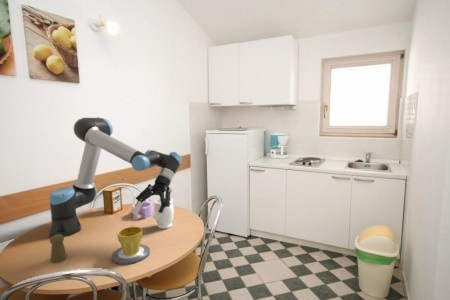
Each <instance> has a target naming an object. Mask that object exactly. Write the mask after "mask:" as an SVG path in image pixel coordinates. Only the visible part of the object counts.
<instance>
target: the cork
mask: <svg viewBox="0 0 450 300" xmlns="http://www.w3.org/2000/svg"><path fill="white" fill-rule="evenodd" d="M64 240H65V236H63V235H61V234H57V235H54V236H52V237H51V236H50V238H49V243H50V244H51V250H50V251H51V253H50V263H52V264H57V263H62V262H64V261H66V260H67V258H68V256H67V253H66V250H65V244H64Z"/></svg>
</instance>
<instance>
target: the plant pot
mask: <svg viewBox="0 0 450 300" xmlns="http://www.w3.org/2000/svg"><path fill="white" fill-rule="evenodd" d="M143 233H144V232H143V228H141V227H140V226H129V227H125V228H122V229H120V230H118V232H117V240H118V243H120V246H121V247H122V250H123V253H124V254H125V255H134V254H136V253H138V252H139V248H140V244H141V241H142V238H143ZM121 247H120V248H121Z"/></svg>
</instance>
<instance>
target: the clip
mask: <svg viewBox="0 0 450 300" xmlns="http://www.w3.org/2000/svg"><path fill="white" fill-rule="evenodd" d="M148 199H149V201H147V199H146V200H145V201H143V202H142V203H143V204H142V206H141V208H140V210H139V211H138V213H137V215H134V214H133V213H132V212H133V210H134V208H135V205H136V203H133V204H132V205H131V208H132V209H131V210H132V212H131V213H132V218H133V219H132V220H137V219H138V218H139V214H141V213H142V219H143V220H147V218H150V217H153V216H154V199H153V198H148Z"/></svg>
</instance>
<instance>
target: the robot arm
mask: <svg viewBox="0 0 450 300" xmlns="http://www.w3.org/2000/svg"><path fill="white" fill-rule="evenodd" d="M73 133H74V135H75V136H76V138H77V139H79V140H81V141H82V142H84V143H85V144H84V149H83V152H82V157H81V160H80V165H79V170H78V175H77V178H76V180H74V181H73V184H72V187H62V188H58V189H55V190H53V191H52V192H51V193H50V194H49V200H48V201H49V207H50V216H51V218H50V219H51V222H50V225H49V229H48V236H49V237H50V238H51V237H52V236H54V235H57V234H61V235H63V236H64V237H69V236H71V235H74V234H77V233H78V232H80V231H81V230H82V226H81V222H80V220H79V218H78V216H77V209H78V208H81V207H83V206H86V205H89V204H91V203H93V202H94V201H95V200H96V198H97V196H98V189H97V187H96V183H94V180H95V177H96V173H97V172H96V171H97V167H98V163H99V160H100V155H101V152H102V150H104V151H106V152H108V153H110V154H112V155H113V156H115V157H118V158H119V159H120V160H122V161H124V162H126V163H129V164H130V165H131V166H132V167H131V168H133V169H134V171H137V172H141V171H146V170H149V169H152V168H153V167H159V168H161V169H160V171H159V173H158V175H157V176H156V178H155V180H154V184H153V185H152V184H150V183H149V184H148V185H147V187H146V188H144V189H143V191H141V192H140V193H139V194H138V195H136V197H135V200H136V201H137V202H136V203H135V204H136V205H135V208H134V210H133V212H131V213H132V215H133V214H134V215H137V213H138V211H139V210H140V208H141V206H142V204H143V203H142V202H143V201H145V200H146V201H147V200H148V199H150V198H151V197H152V196H153V197H154V196H158V197H159V199H160V200H161V205H159V207H158V209H157V210H156V212H155V211H154V213H153V215H152V218H153V219H154V220H158V218H159V216H160V214H161V213H162V212H163V210H164V208H165V207H167V206H168V207H169V206H170V198H171V193H172V189H171V187H170V185H171V183H172V181H173V179H174V177H175V175H176V173H177V171H178V169H179V168H180V166H181V163H182V161H183V157H182V155H181V154H180V153H179V152H176V151H171V152H170V153H169V154H166V153H162V152H159V151H157V150H154V149H148V150H146V151H145V153H144V152H142V151H139V150H138V149H136V148H134V147H132V146H130V145H129V144H126V143H124V142H122V141H121V140H118V139H116V138H115V137H113V136H111V135H112V134H113V125H112V124H111V122H110V120H108V119H107V118H104V117H82V118H79V119H78V120H76V122H75V123H74V125H73Z"/></svg>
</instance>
